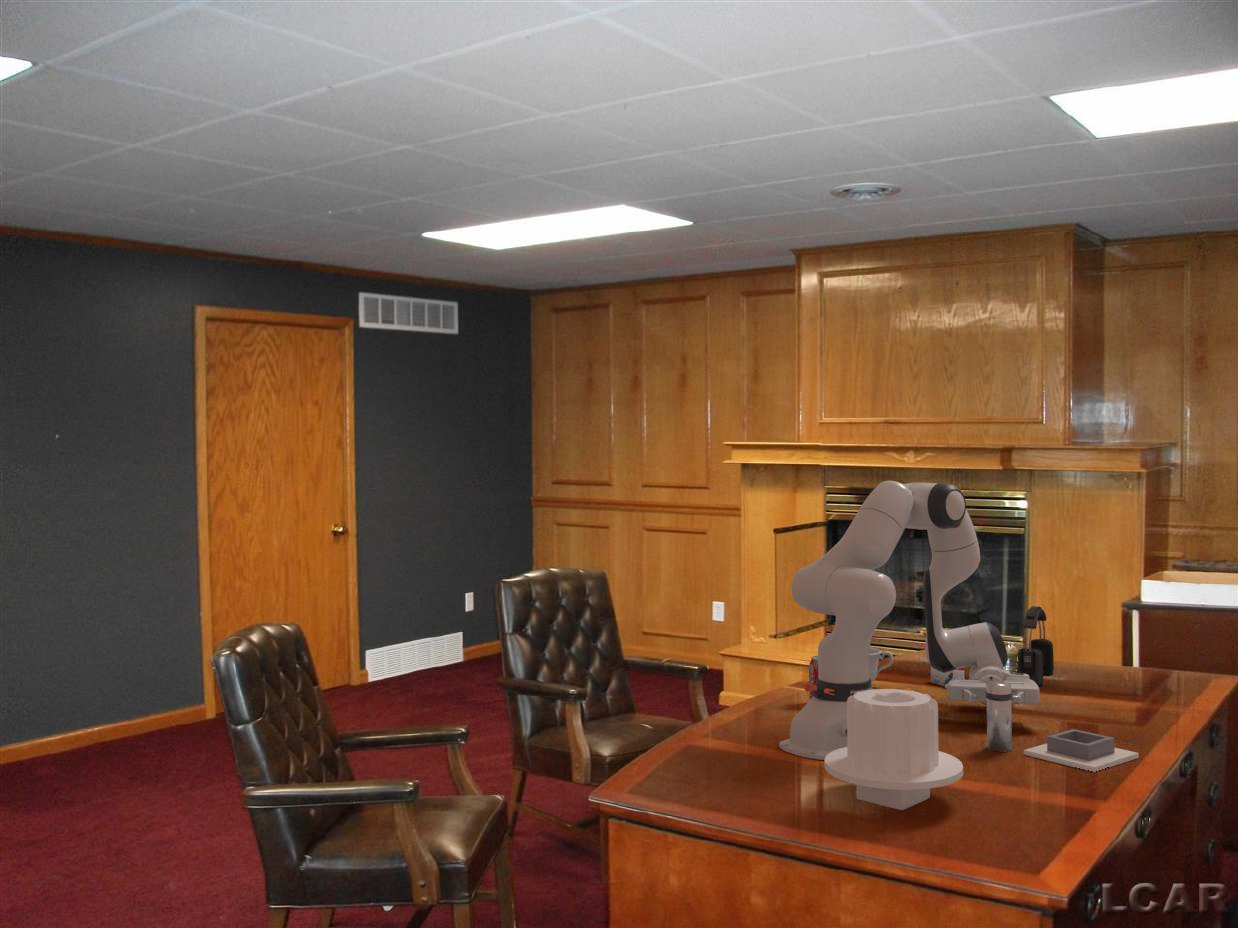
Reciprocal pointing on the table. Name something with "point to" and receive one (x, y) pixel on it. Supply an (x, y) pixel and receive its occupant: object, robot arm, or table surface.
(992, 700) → the capped metal cylinder
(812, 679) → the soda can
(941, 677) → the ink cartridge box
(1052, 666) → the headphones
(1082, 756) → the socket mount
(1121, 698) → the table surface
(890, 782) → the flanged gear
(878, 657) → the teacup
